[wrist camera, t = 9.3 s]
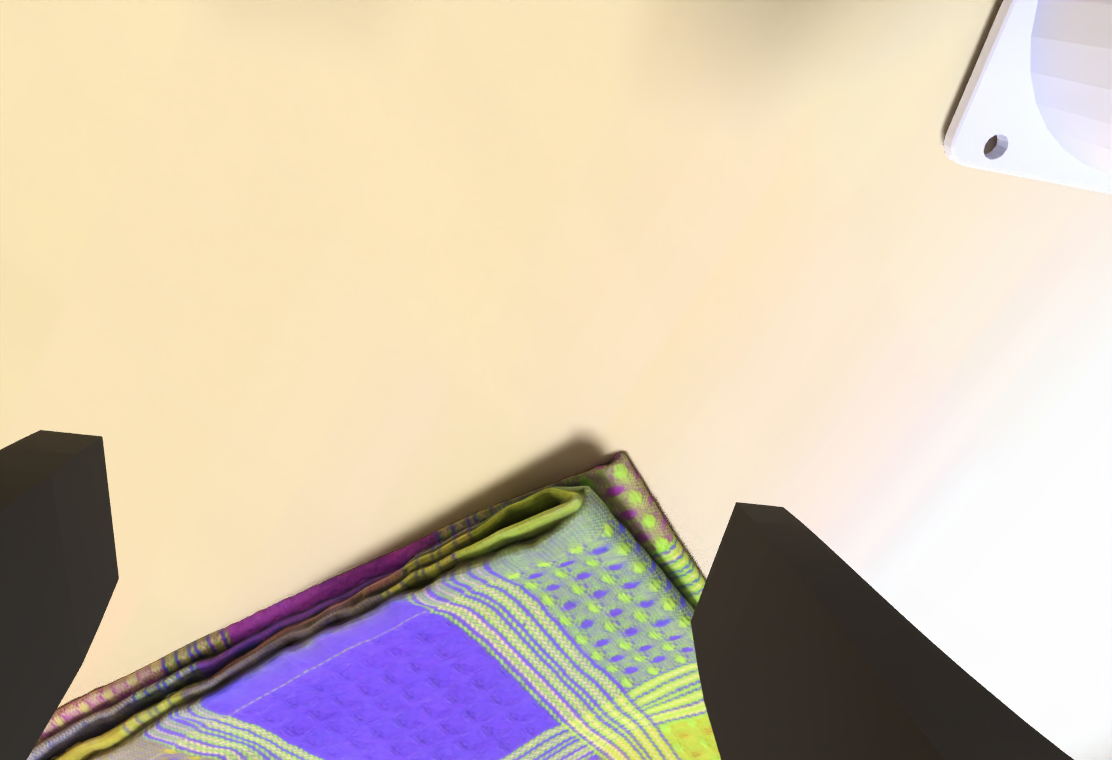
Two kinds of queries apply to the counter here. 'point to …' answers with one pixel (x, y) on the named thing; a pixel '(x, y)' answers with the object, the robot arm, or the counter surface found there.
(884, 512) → the counter surface
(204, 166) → the counter surface
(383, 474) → the counter surface
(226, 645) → the dish towel
